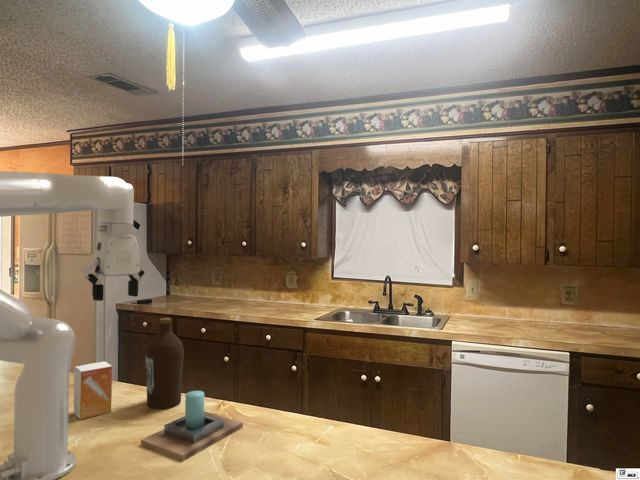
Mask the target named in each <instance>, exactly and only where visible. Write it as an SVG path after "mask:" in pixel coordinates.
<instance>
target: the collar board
mask: <svg viewBox="0 0 640 480" xmlns="http://www.w3.org/2000/svg"><path fill="white" fill-rule="evenodd" d="M243 423H244V422H242V421H239V420H236V419H233V418H229V417H225V416H223V415H218V414H215V413H212V412H209V411H206V410H204V427H202V428H200V429H198V430H196V431H191V430H188V429H185V415H184V416H182V417H179V418H178V419H175V420H173V421H171V422H168V423H166V424H164V425H163V426H164V427H163V428H162V429H161V430H159V431H157V432H154V433H152V434H149V435H148V436H146V437H143V438H141V439H140V445H141V446H143V447H146V448H148V449H150V450H153V451H156V452H159V453H161V454H164V455H167V456H169V457H172V458H174V459H177V460H180V461H182V462H183V461H185V460H187V459H189V458H191V457H193V456H194V455H196V454H197V453H200V452H201V451H203V450H205V449H206V448H208V447H210V446H212V445H214V444H215V443H217V442H218V441H220V440H222V439H225V438H226V437H227V436H230V435H231V434H232V433H235V432H237V431H238V430H239V429H242V428H243V427H244V426H243V425H244V424H243Z"/></svg>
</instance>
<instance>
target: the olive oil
mask: <svg viewBox="0 0 640 480" xmlns="http://www.w3.org/2000/svg"><path fill="white" fill-rule="evenodd" d="M158 330H159V331H158V333H156V335H155V336H154V337H152V338H151V340H150V341H149V342H148V344H147V346H146V349H145V356H144V358H145V372H146V373H145V376H146V379H145V380H146V406H147V407H148V408H150V409H152V410H167V409H170V408H174V407H176V406H178V405H180V404H181V402H182V387H183V386H182V385H183V384H182V383H183V369H184V355H185V354H184V353H185V350H184V345H183V342H182V341H181V339H180V338H179V337H178V336H177V335H176V334H175V333H173V331H172V318H171V317H160V318H159V323H158Z"/></svg>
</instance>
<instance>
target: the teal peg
mask: <svg viewBox="0 0 640 480" xmlns="http://www.w3.org/2000/svg"><path fill="white" fill-rule="evenodd" d="M184 399H185V403H184V404H185V405H184V407H185V408H184V409H185V413H184V416H185V429H188V430H191V431H196V430H198V429H200V428H202V427H204V411H205V392H204V391H202V390H191V391H188V392H186V394H185V398H184Z"/></svg>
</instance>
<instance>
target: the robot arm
mask: <svg viewBox="0 0 640 480" xmlns="http://www.w3.org/2000/svg"><path fill="white" fill-rule="evenodd" d="M134 195H135V189H134V186H133V184H131V183H128V182H126V181H125V180H124V179H122V178H120V177H118V176H108V175H107V176H106V175H105V176H104V175H84V174H83V175H82V174H81V175H80V174H79V175H76V174H66V173H64V174H62V173H54V172H53V173H50V172H48V173H47V172H30V171H29V172H28V171H4V170H0V218H1V217H2V218H3V217H16V216H17V217H18V216H33V215H50V214H51V215H54V214H64V213H74V212H83V211H85V212H86V211H88V212H89V211H100V224H99V225H97V226H96V231H97V232H99V233H100V236H99V235H98V237H97V240H96V245H95V251H94V259H93V260H92V261H90V262H88V263H87V264H85V265H83V266H82V267H81V270H82V272H83V274H84V275H85V278H86V279H87V280H88V281H89V283H90V284H91V285H92V295H91V296H92V300H93V301H96V302H97V301H98V302H103V300H104V290H105V289H104V283H103V282H104V280H105V279H106V278H107V277H121V276H122V277H123V276H127V277H128V278H129V280H128V282H127V287H128V288H127V296H130V297H138V295H139V282H140V281H141V280H142V279H141V278H142V277H143V276H144V275H145V271H146V270H147V266H148V263H146V262H144V261H142V260H140V251H139V250H140V249H139V244H138V240H137V237H136V236H134V212H135V211H134V209H135V207H134V206H135V205H134V199H135V197H134ZM92 269H93V271H94V273H93V271H92ZM102 283H103V284H102ZM75 344H76V335H75V332H74V330H73V328H72V327H71V326H70V325H69V324H68V323H66V322H65V321H63V320H60V319H55V318H50V317H49V318H47V317H36V316H32V312H31V310H30V309H29V307H28V306H27V305H26V304H25V303H23V301H21V300H20V299H18V298H16V296H15V297H14V296H13V295H11V294H9V293H8V292H6V291H4V290H3V289H1V288H0V361H3V362H9V363H16V364H21V365H23V368H22V370H21V371H20V374H19V376H18V378H17V381H16V383H15V387H14V399H13V400H14V404H13V405H14V406H13V407H14V408H13V409H14V412H13V414H14V415H13V416H14V418H13V420H14V421H13V425H14V426H13V453H10V454H8V455H7V460H6V461H3V462H2V464H0V480H57V479H58V478H61V477H63V476H65V475H66V474H67V473H69V472H70V471H71V470H73V469H74V467H75V466H76V464H77V456H76V454H75V452H74V453H73V451H69V407H70V404H69V399H70V371H71V370H70V369H71V362H72V358H73V352H74V349H75Z"/></svg>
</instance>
